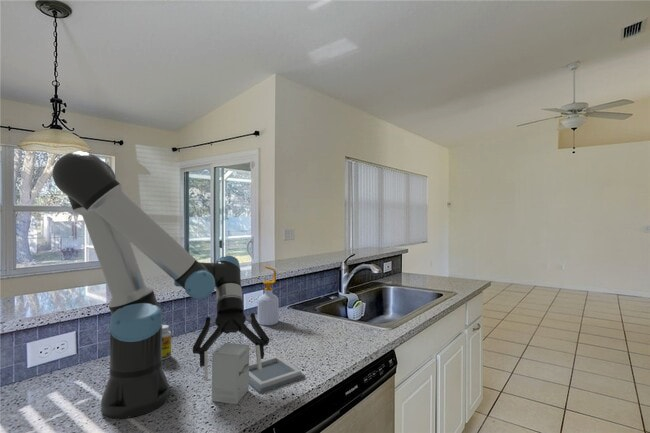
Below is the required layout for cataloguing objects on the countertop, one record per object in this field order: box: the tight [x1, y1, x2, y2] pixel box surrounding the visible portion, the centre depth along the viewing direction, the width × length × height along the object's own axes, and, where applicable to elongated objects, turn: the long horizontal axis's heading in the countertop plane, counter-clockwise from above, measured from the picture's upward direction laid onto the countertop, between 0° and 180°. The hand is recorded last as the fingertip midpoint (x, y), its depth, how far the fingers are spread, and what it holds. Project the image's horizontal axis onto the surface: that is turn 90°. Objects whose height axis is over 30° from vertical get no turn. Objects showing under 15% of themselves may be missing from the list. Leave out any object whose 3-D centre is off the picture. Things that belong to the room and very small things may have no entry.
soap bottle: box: [257, 265, 280, 326], centre depth 152 cm, size 9×9×25 cm
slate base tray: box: [249, 355, 306, 394], centre depth 104 cm, size 15×15×2 cm
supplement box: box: [211, 342, 250, 405], centre depth 92 cm, size 7×7×13 cm
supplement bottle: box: [162, 324, 172, 361], centre depth 115 cm, size 6×6×10 cm
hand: (233, 374), depth 91 cm, fingers open, 13 cm apart
